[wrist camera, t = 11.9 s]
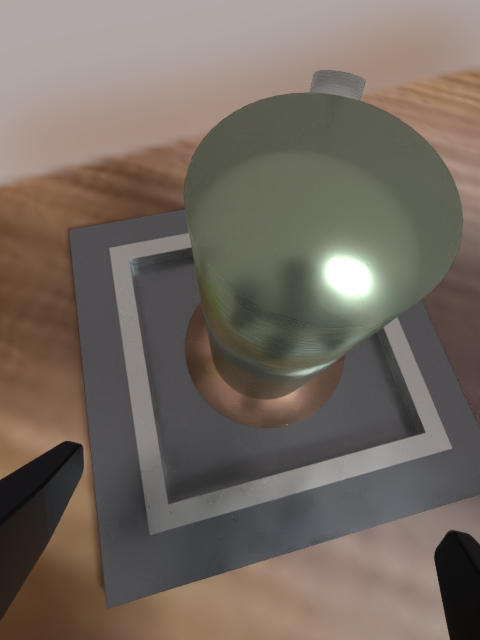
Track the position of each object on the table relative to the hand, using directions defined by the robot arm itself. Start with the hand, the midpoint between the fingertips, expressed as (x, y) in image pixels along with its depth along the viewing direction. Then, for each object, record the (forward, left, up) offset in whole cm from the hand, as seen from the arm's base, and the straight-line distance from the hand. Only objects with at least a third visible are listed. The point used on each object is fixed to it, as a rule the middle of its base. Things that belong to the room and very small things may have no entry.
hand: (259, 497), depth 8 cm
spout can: (+3, +6, -9) cm, 11 cm away
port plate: (+3, +6, -10) cm, 12 cm away
